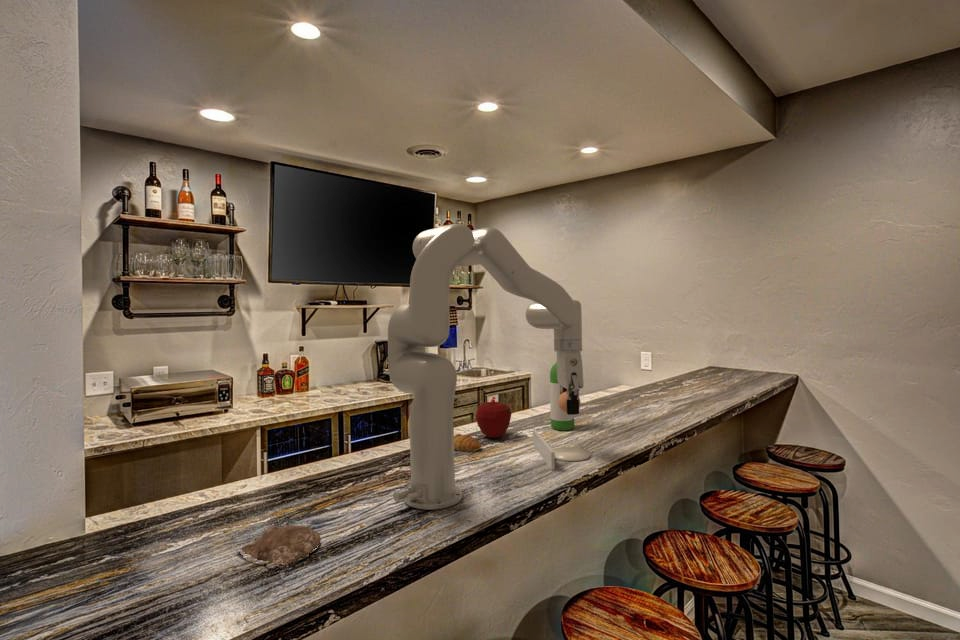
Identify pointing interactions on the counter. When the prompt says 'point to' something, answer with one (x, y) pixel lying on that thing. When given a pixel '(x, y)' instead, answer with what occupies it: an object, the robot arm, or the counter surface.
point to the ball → (564, 401)
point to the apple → (493, 418)
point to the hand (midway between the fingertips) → (569, 410)
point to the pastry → (466, 443)
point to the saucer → (571, 454)
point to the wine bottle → (558, 417)
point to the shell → (283, 544)
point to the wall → (544, 450)
